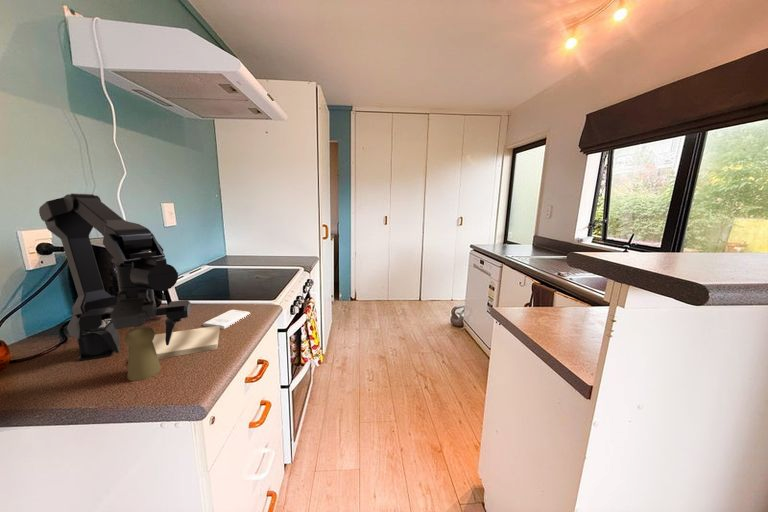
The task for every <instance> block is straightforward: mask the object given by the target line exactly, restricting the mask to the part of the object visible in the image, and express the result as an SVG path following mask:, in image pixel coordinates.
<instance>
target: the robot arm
mask: <svg viewBox="0 0 768 512" xmlns="http://www.w3.org/2000/svg"><path fill="white" fill-rule="evenodd" d="M38 213H39V216H40V219H41V220H42V221H43V222H44V223H45V226H46V229H47V230H48V231H49V232H50V233H52V234H53V235H55V236H56V238H59V240H60V241H61V243H62V246H63V251H64V253H65V257H66V260H67V264H68V266H69V270H70V274H71V277H72V280H73V283H74V286H75V291H76V292H77V298H76V300H75V302H74V304H73V305H72V308H71V311H72V316H71V317H70V321H69V323H68V325H67V327H66V329H67V332H68V335H69V336H70V337H73V338H74V339H77V344H78V349H79V356H78V357H77V358H76V361H80V362H81V361H85V360H92V359H97V358H104V357H110V356H112V355H114V353H115V354H119V353H120V352H121V342H120V334H119V330H122V329H124V328H125V329H126V328H140V327H143V325H145V322H146V320H149V319H151V318H156V317H157V316H165V317H166V319H165V321H164V324H165V333H166V338H165V341H166V346H167V345H169V342H170V339H171V336H172V333H173V332H174V329H175V326H176V324H177V323H178V322H179V323H180V322H181V321H182V320H183V319H186V318H188V317H189V316H190V313H191V311H192V307H191V306H192V305H191V304H192V303H191V302H190V301H189V300H188V299H183V300H174V301H170V302H169V303H168V305H167V306H158V307H157V303H156V300H155V292H154V291H158V292H165V291H167V290H170V289H172V288H173V287H174V286H175V285H176V283H177V282H178V279H179V272H178V271H177V269H176V268H175V267H174V266H173V265H171V264H170V263H167V259H166V255H165V253H164V248H163V247H162V245H160V243H159V241H157V238H156V237H155V235H154V233H153V232H152V231H151V230H150V229H149V228H147V227H145V226H143V225H141V223H136V222H131V221H127V220H126V219H124V218H123V217H121V216H120V215H119V214H118V213H116V212H115V211H114V210H113V209H111V208H110V207H109V206H107V205H106V204H105V203H103V202H102V199H101V198H100V196H98V194H97V195H95V194H93V193H70V194H66V195H65V196H63V197H59V198H55V199H51V200H47V201H45V202H44V203H43V204H42V205H41V206H39V209H38ZM93 228H94V229H95V230H96V231H97V232H98V233H100V234H101V235H102V236H103V239H102V245H103V246H104V248H105V249H106V251H107V252H108V253H109V254H110V255H111V256H112V257H113V258H112V259H111V263H112V264H115V272H116V279H117V286H118V292H117V296H116V295H112V294H110V293H108V291H106V290H105V287H104V282H103V280H102V276H101V272H100V270H99V267H98V263H97V259H96V256H95V252H94V249H93V246H92V242H91V238H90V234H91V232H92V231H93Z"/></svg>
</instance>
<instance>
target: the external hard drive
mask: <svg viewBox="0 0 768 512" xmlns="http://www.w3.org/2000/svg"><path fill="white" fill-rule="evenodd" d="M249 314H250V315H251V312H250V311H245V310H240V309H239V310H238V309H237V310H236V309H230V310H228V311H226V312H224V313H221V314H220V315H216V316H215V317H213V318H211V319H209V320H207V321H205V322H203V323H202V326H203V327H213V326H219V327H220V330H221V329H222V330H225V329H227V328H229V327H231V326H232V324H233V325H235V324H236V323H238V322H240V321H241V320H240V319H242V318H243V319H245V318H247V317H248V316H247V315H249ZM250 315H249V316H250ZM246 316H247V317H246ZM244 317H245V318H244ZM243 319H242V320H243ZM239 320H240V321H239ZM237 321H238V322H237ZM235 322H236V323H235ZM230 325H231V326H230Z"/></svg>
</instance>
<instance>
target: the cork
mask: <svg viewBox="0 0 768 512" xmlns="http://www.w3.org/2000/svg"><path fill="white" fill-rule="evenodd" d="M155 335H156V332H155V330H154V329H153V328H152V327H150V326H149V327H148V326H139V327H135V328H133V329H131V330H129V331H127V332H126V333H125V335H124V342H125V344H126V345H127V346H128V358H127V361H128V362H127V380H128V381H132V382H138V381H144V380H147V379H150V378H152V377H154V376H156V375H157V374H159V373H160V371H162V370H161V369H162V366H161V363H160V359H158V357H157V354H156V350H155V347H154V344H153V341H152V340H153V339H154V336H155Z"/></svg>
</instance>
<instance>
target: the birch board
mask: <svg viewBox="0 0 768 512" xmlns="http://www.w3.org/2000/svg"><path fill="white" fill-rule="evenodd" d="M220 330H221V329H220V327H219V326H213V327H207V326H205V327H199V328H193V329H191V328H190V329H186V330H179V331H173V333H172V336H171V339H170V342H169V345H167V346H166V341H165V338H166V332H164V333H158V334H157V333H155V336H154V339H153V340H152V341H153V344H154V347H155V350H156V354H157V357H158V360H163V359H168V358H173V357H179V356H185V355H191V354H196V353H203V352H209V351H213V350H218V345H219V338H220V332H221V331H220Z"/></svg>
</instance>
